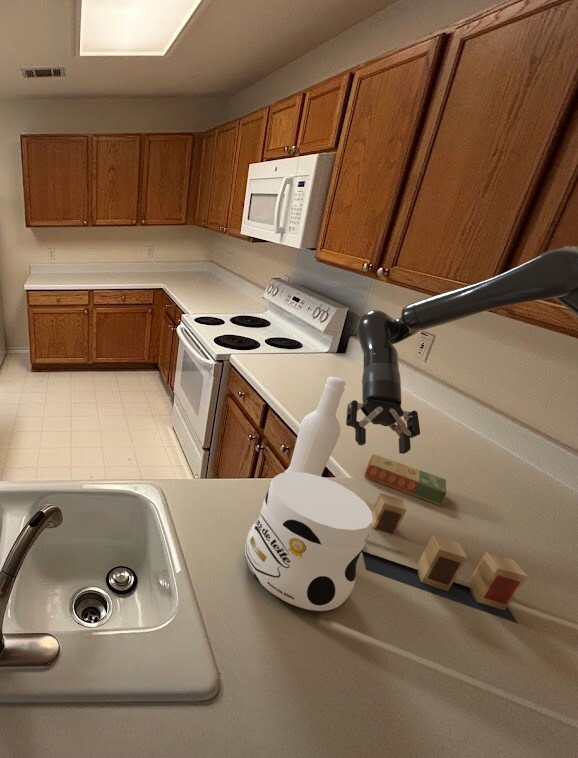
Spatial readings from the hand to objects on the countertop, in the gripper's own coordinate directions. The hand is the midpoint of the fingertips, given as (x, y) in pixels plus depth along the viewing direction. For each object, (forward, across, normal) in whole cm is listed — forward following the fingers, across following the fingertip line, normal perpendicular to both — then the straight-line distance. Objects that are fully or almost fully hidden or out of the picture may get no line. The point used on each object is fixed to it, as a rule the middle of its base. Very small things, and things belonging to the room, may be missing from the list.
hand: (382, 448), depth 94 cm
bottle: (+12, -15, +8) cm, 21 cm away
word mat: (+27, +4, -7) cm, 28 cm away
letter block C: (+28, +12, -8) cm, 31 cm away
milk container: (+34, -22, -13) cm, 42 cm away
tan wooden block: (+18, 0, +2) cm, 18 cm away
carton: (+2, +13, +19) cm, 23 cm away
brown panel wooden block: (+27, +4, -8) cm, 28 cm away
